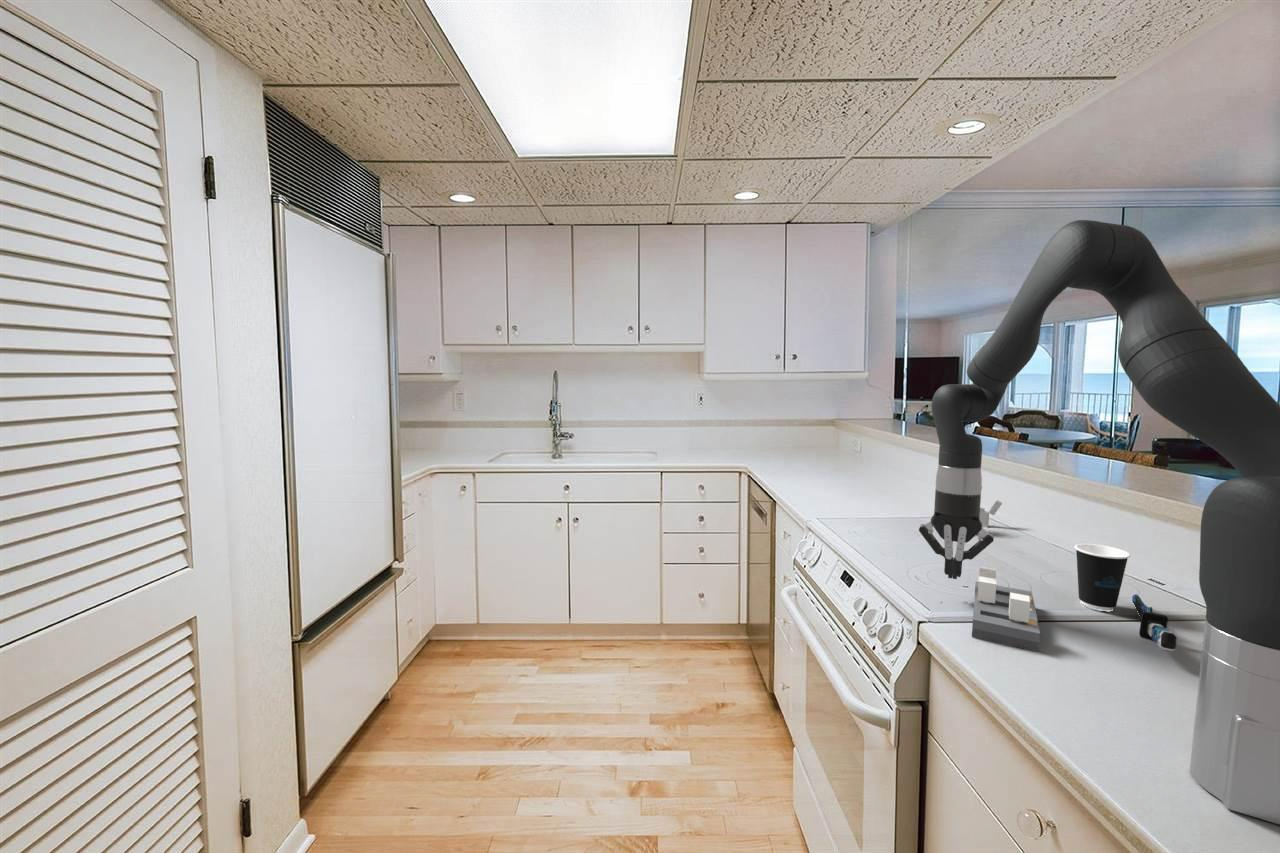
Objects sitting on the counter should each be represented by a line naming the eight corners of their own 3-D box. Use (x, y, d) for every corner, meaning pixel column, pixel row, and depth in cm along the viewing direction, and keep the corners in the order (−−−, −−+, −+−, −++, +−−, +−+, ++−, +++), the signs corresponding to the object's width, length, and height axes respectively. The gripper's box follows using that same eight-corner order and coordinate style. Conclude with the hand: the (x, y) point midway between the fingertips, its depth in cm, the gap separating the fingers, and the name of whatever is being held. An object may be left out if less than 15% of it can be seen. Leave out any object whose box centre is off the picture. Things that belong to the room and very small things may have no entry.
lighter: (971, 525, 158) (973, 498, 158) (971, 524, 160) (972, 497, 159) (1000, 529, 155) (1002, 501, 154) (1000, 527, 156) (1001, 500, 156)
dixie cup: (1087, 596, 108) (1091, 541, 106) (1135, 612, 100) (1140, 554, 99) (1060, 601, 105) (1064, 545, 104) (1107, 618, 97) (1112, 559, 96)
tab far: (994, 600, 101) (996, 573, 100) (977, 597, 102) (979, 571, 102) (994, 595, 103) (995, 569, 103) (977, 592, 105) (979, 566, 104)
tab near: (1027, 632, 88) (1030, 602, 88) (1008, 628, 90) (1010, 598, 89) (1026, 625, 91) (1028, 595, 90) (1007, 621, 92) (1010, 592, 92)
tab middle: (994, 612, 96) (996, 584, 95) (977, 608, 97) (978, 581, 96) (994, 606, 98) (996, 578, 98) (977, 603, 99) (979, 576, 99)
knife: (1177, 665, 79) (1179, 634, 79) (1148, 658, 81) (1151, 628, 81) (1149, 615, 103) (1151, 592, 103) (1128, 611, 105) (1130, 588, 105)
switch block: (1038, 651, 85) (1040, 633, 85) (971, 636, 90) (972, 619, 90) (1030, 606, 102) (1031, 591, 102) (974, 596, 107) (975, 581, 107)
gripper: (917, 488, 104) (912, 576, 106) (999, 497, 97) (993, 591, 98) (921, 482, 110) (916, 565, 112) (999, 489, 103) (993, 578, 105)
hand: (952, 577), depth 105 cm, fingers closed
